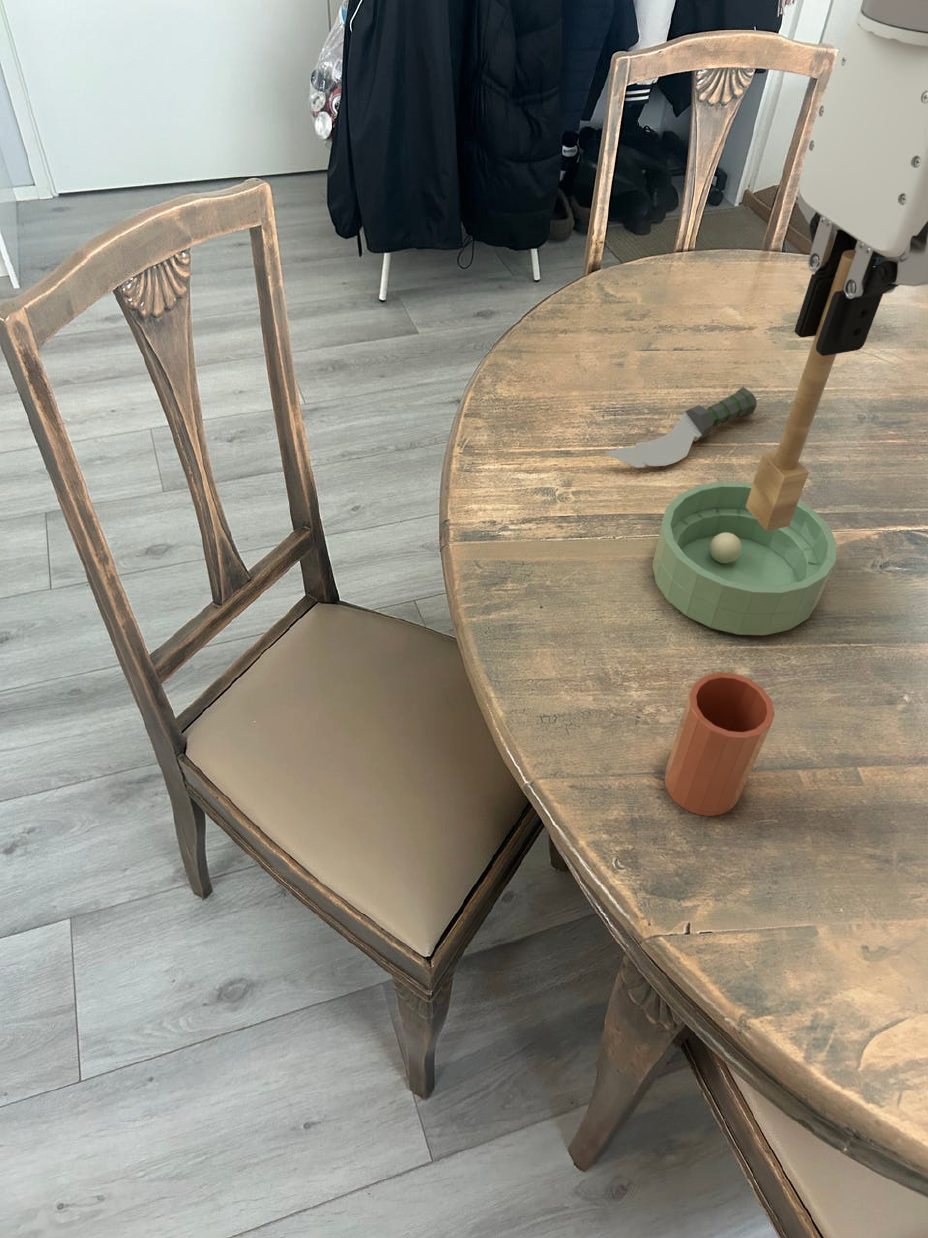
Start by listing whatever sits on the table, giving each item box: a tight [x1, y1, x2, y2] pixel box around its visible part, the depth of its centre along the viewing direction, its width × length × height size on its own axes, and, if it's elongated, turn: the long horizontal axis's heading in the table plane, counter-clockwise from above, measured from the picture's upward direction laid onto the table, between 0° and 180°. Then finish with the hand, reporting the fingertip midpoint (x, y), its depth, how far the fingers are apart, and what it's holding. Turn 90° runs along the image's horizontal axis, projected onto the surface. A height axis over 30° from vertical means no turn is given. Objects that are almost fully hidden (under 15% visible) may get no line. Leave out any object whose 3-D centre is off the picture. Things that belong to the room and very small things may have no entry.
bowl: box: [651, 481, 838, 636], centre depth 83 cm, size 16×16×6 cm
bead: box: [710, 532, 742, 563], centre depth 85 cm, size 3×3×3 cm
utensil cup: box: [664, 671, 776, 817], centre depth 65 cm, size 6×6×10 cm
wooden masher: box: [746, 250, 857, 531], centre depth 59 cm, size 3×2×20 cm, turn 18°
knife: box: [604, 386, 758, 469], centre depth 99 cm, size 22×4×5 cm
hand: (827, 339), depth 56 cm, fingers closed on wooden masher, 1 cm apart
